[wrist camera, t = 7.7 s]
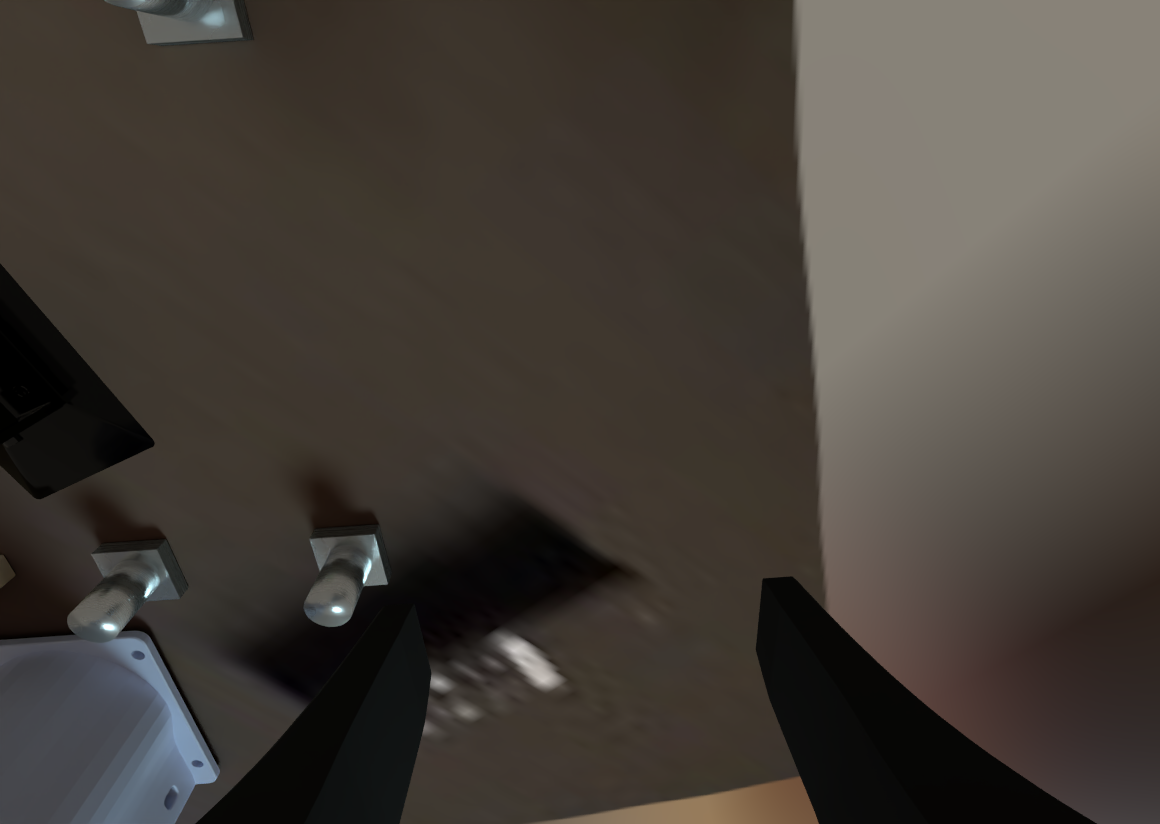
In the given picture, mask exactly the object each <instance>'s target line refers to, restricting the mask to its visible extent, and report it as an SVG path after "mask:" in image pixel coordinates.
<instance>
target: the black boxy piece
mask: <svg viewBox="0 0 1160 824" xmlns="http://www.w3.org/2000/svg"><path fill="white" fill-rule="evenodd" d="M154 444H155V443H154V441H153V439H152V438H151V437H150V436H149V435H148V434H147V432H146V431H145V430H144V429H143V428H142V427H141V425H140V424H139V423H138V422H137V421H136V420H135V419H134V417H133V416H132V415H131V414H130V413H129V412H128V410H127V409H126V408H125V407H124V406H123V405H122V403H121V402H120V401H119V400H118V399H117V398H116V397H115V395H114V394H113V393H112V392H111V391H110V390H109V388H108V387H107V386H106V385H105V384H104V383H103V382H102V380H101V379H100V378H99V377H98V376H97V375H96V373H95V372H94V371H93V370H92V369H91V368H90V367H89V365H88V364H87V363H86V362H85V361H84V360H83V358H82V357H81V356H80V355H79V354H78V353H77V352H76V350H75V349H74V348H73V347H72V346H71V345H70V343H69V342H68V341H67V340H66V339H65V338H64V337H63V335H62V334H61V333H60V332H59V331H58V330H57V328H56V327H55V326H54V325H53V324H52V323H51V322H50V320H49V319H48V318H47V317H46V316H45V315H44V313H43V312H42V311H41V310H40V309H39V308H38V307H37V305H36V304H35V303H34V302H33V301H32V300H31V298H30V297H29V296H28V295H27V294H26V293H25V292H24V290H23V289H22V288H21V287H20V286H19V285H18V283H17V282H16V281H15V280H14V279H13V278H12V276H11V275H10V274H9V273H8V272H7V271H6V270H5V268H4V267H3V266H2V265H1V264H0V466H1V467H2V468H4V469H5V470H6V471H7V472H8V473H9V474H10V475H11V476H12V477H13V478H14V479H15V480H16V481H17V482H18V483H19V484H20V485H21V486H22V487H24V488H25V489H26V490H27V491H28V492H29V493H30V494H31V495H32V496H33V497H34V498H36V499H42V498H44V497H47V496H49V495H51V494H53V493H55V492H57V491H59V490H61V489H64V488H66V487H68V486H70V485H72V484H74V483H76V482H78V481H81V480H83V479H85V478H87V477H89V476H91V475H93V474H95V473H98V472H100V471H102V470H104V469H106V468H108V467H110V466H113V465H115V464H117V463H119V462H121V461H123V460H125V459H127V458H130V457H132V456H134V455H136V454H138V453H140V452H142V451H144V450H147V449H149V448H151V447H153V446H154Z"/></svg>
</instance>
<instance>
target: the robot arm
mask: <svg viewBox="0 0 1160 824" xmlns="http://www.w3.org/2000/svg"><path fill="white" fill-rule="evenodd" d="M756 652H757V656H758V660H759V663H760V667H761V671H762V675H763V678H764V682H765V685H766V689H767V692H768V696H769V699H770V702H771V704H772V707H773V709H774V712H775V714H776V717H777V719H778V722H779V724H780V727H781V730H782V732H783V735H784V737H785V740H786V742H787V744H788V747H789V749H790V752H791V754H792V757H793V759H794V762H795V764H796V767H797V769H798V772H799V774H800V777H801V779H802V782H803V784H804V786H805V789H806V791H807V794H808V796H809V799H810V801H811V804H812V806H813V809H814V811H815V814H816V817H817V819H818V822H819V824H1096V823H1095V822H1093V821H1092V820H1090V819H1088V818H1087V817H1085V816H1083V815H1082V814H1080V813H1078V812H1077V811H1075V810H1073V809H1072V808H1070V807H1068V806H1067V805H1065V804H1064V803H1062V802H1060V801H1059V800H1057V799H1056V798H1054V797H1053V796H1051V795H1050V794H1048V793H1046V792H1045V791H1043V790H1042V789H1040V788H1039V787H1037V786H1036V785H1034V784H1033V783H1031V782H1030V781H1028V780H1027V779H1025V778H1024V777H1023V776H1021V775H1020V774H1018V773H1016V772H1015V771H1013V770H1012V769H1011V768H1009V767H1008V766H1006V765H1005V764H1003V763H1002V762H1001V761H999V760H998V759H996V758H995V757H993V756H992V755H990V754H989V753H988V752H986V751H985V750H983V749H982V748H981V747H979V746H978V745H977V744H975V743H974V742H972V741H971V740H970V739H968V738H967V737H966V736H964V735H963V734H962V733H961V732H959V731H958V730H957V729H955V728H954V727H953V726H952V725H950V724H949V723H948V722H946V721H945V720H944V719H942V718H941V717H940V716H939V715H938V714H936V713H935V712H934V711H933V710H931V709H930V708H929V707H928V706H926V705H925V704H924V703H923V702H922V701H921V700H919V699H918V698H917V697H916V696H915V695H913V694H912V693H911V692H910V691H909V690H908V689H907V688H906V687H904V686H903V685H902V684H901V683H900V682H899V681H898V680H896V679H895V678H894V677H893V676H892V675H891V674H890V673H889V672H887V670H885V669H884V668H883V667H882V666H881V665H880V664H879V663H878V662H877V661H876V660H875V659H874V658H873V657H872V656H871V655H870V654H868V653H867V652H866V651H865V650H864V649H863V648H862V647H861V646H860V645H859V644H858V643H857V642H856V641H855V640H854V639H853V638H852V637H851V636H850V635H849V634H848V633H847V632H846V631H845V630H844V629H843V628H841V626H840V625H839V624H838V623H837V622H836V621H835V620H834V619H833V618H832V617H831V616H830V615H829V614H828V613H827V612H826V611H825V610H824V609H823V608H822V607H821V606H820V604H819V603H818V602H817V601H816V600H815V599H814V598H813V597H812V596H811V595H810V594H809V593H808V592H807V591H806V590H805V589H804V588H803V586H802V585H801V584H800V583H799V582H798V581H797V580H796V579H795V578H793V577H778V578H764V579H763V581H762V591H761V602H760V612H759V622H758V633H757V643H756ZM430 680H431V669H430V665H429V661H428V657H427V653H426V649H425V645H424V641H423V637H422V633H421V629H420V625H419V621H418V617H417V613H416V609H415V605H414V604H402V605H388V606H384V607H383V608H382V609H381V610H380V611H379V613H378V614H377V616H376V617H375V618H374V620H373V621H372V622H371V624H370V625H369V627H368V628H367V629H366V631H365V632H364V633H363V635H362V636H361V638H360V639H359V640H358V642H357V643H356V644H355V646H354V647H353V648H352V650H351V651H350V652H349V654H348V655H347V656H346V658H345V659H344V660H343V662H342V663H341V664H340V666H339V667H338V668H337V670H336V671H335V672H334V673H333V675H332V676H331V677H330V678H329V680H328V681H327V682H326V684H325V685H324V686H323V687H322V689H321V690H320V691H319V693H318V694H317V695H316V696H315V698H314V699H313V700H312V701H311V702H310V704H309V705H308V706H307V707H306V708H305V710H304V711H303V712H302V713H301V714H300V715H299V717H298V718H297V719H296V720H295V721H294V722H293V724H292V725H291V726H290V727H289V728H288V729H287V731H286V732H285V733H284V734H283V735H282V736H281V738H280V739H279V740H278V741H277V742H276V743H275V744H274V745H273V747H272V748H271V749H270V750H269V751H268V752H267V753H266V754H265V755H264V756H263V757H262V759H261V760H260V761H259V762H258V763H257V764H256V765H255V766H254V767H253V768H252V769H251V770H250V771H249V772H248V773H247V774H246V775H245V776H244V777H243V778H242V779H241V780H240V781H239V782H238V783H237V784H236V785H235V786H234V787H233V788H232V789H231V790H230V791H229V792H228V793H227V794H226V795H225V796H224V797H223V798H222V799H221V800H220V801H219V802H218V803H217V804H216V805H215V806H214V807H213V808H212V809H211V810H210V811H209V812H208V813H206V814H205V815H204V816H203V817H202V818H201V819H200V820H199V821H198V822H197V823H196V824H399V823H400V819H401V815H402V811H403V807H404V803H405V799H406V796H407V792H408V788H409V784H410V780H411V776H412V772H413V768H414V764H415V760H416V756H417V752H418V748H419V744H420V740H421V736H422V732H423V728H424V724H425V717H426V710H427V704H428V696H429V688H430ZM219 773H220V770H219V768H218V766H217V764H216V762H215V760H214V758H213V756H212V754H211V752H210V750H209V749H208V747H207V745H206V743H205V741H204V739H203V737H202V735H201V733H200V731H199V729H198V728H197V726H196V724H195V722H194V720H193V718H192V716H191V714H190V712H189V710H188V709H187V707H186V705H185V703H184V701H183V699H182V697H181V695H180V693H179V691H178V689H177V688H176V686H175V684H174V682H173V680H172V678H171V676H170V674H169V672H168V670H167V669H166V667H165V665H164V663H163V661H162V659H161V657H160V655H159V653H158V651H157V649H156V648H155V646H154V644H153V642H152V640H151V638H150V637H149V636H148V635H147V634H146V633H144V632H141V631H122V632H120V633H119V634H118V635H117V636H116V638H115V639H113V640H111V641H109V642H105V643H95V642H90V641H87V640H84V639H82V638H80V637H79V636H77V635H65V636H50V637H36V638H22V639H7V640H0V824H175V822H176V820H177V818H178V816H179V815H180V813H181V811H182V809H183V807H184V805H185V803H186V801H187V800H188V798H189V796H190V794H191V792H192V790H193V788H194V786H195V785H196V784H205V783H212V782H214V781H215V780H216V778H217V777H218V775H219Z"/></svg>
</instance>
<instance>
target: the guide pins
mask: <svg viewBox="0 0 1160 824" xmlns="http://www.w3.org/2000/svg"><path fill="white" fill-rule="evenodd" d="M104 1H106V2H107V3H110V4H112V5H115V6H119V7H123V8H127V9H132V10H136V11H137V14H138V17H139V20H140V23H141V26H142V29H143V32H144V35H145V39H146V42H147V44H153V45H159V46H166V45H182V44H197V43H213V42H228V41H243V40H254V39H253V35H252V32H251V28H250V24H249V20H248V16H247V12H246V8H245V4H244V1H243V0H104ZM310 543H311V546H312V549H313V552H314V555H315V558H316V561H317V564H318V567H319V570H320V573H319V575H318V577H317V579H316V581H315V583H314V585H313V587H312V589H311V590H310V592H309V594H308V596H307V598H306V600H305V602H304V611H305V613H306V615H307V616H308V617H309V618H310V619H311V620H312V621H313V622H315V623H317V624H320V625H323V626H328V627H335V626H340V625H343V624H345V623H346V622H347V621H348V620H349V619H350V618H351V616H352V613H353V611H354V608H355V606H356V603H357V601H358V598H359V596H360V593H361V591H362V588H363V586H370V585H385V584H388V583H389V580H390V577H391V574H392V573H391V569H390V565H389V561H388V557H387V554H386V550H385V546H384V542H383V538H382V534H381V530H380V527H379V524H378V525H363V526H349V527H334V528H320V529H315V530H314V532H313V533H312V535H311V537H310ZM91 555H92V557H93V559H94V560H95V562H96V564H97V566H98V568H99V570H100V572H101V573H102V575H103V577H104V579H103V580H102V581H101V582H100V583H99V584H98V585H97V586H96V587H95V588H94V589H93V590H92V591H91V592H90V593H89V594H88V595H87V596H86V597H85V598H84V599H83V600H82V601H81V602H80V603H79V605H78V606H77V607H76V608H75V609H74V610H73V611H72V612H71V613H70V614H69V615H68V618H67V623H68V626H69V628H70V629H71V631H72V632H73V633H75V634H76V635H77V636H79V637H80V638H82V639H84V640H87V641H90V642H95V643H105V642H109V641H111V640H113V639H115V638H116V636H117V635H118V634H119V633H120V632H121V630H122V629H123V628H124V627H125V626H126V624H127V623H128V622H129V621H130V620H131V618H132V617H133V616H134V615H135V614H136V612H137V611H138V610H139V609H140V608H141V606H142V605H143V604H144V603H145V602H146V601H155V600H169V599H180V598H181V597H182V596H183V594H184V593H185V592H186V590H187V589H188V585H187V583H186V581H185V579H184V577H183V575H182V573H181V570H180V568H179V566H178V564H177V562H176V560H175V557H174V555H173V553H172V551H171V549H170V547H169V544H168V542H167V540H166V539H161V540H146V541H132V542H117V543H103V544H101V545H100V546H99V547H98V548H97V549H96V550H95V551H94V552H93V553H92V554H91Z"/></svg>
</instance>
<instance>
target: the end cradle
mask: <svg viewBox="0 0 1160 824" xmlns="http://www.w3.org/2000/svg"><path fill="white" fill-rule="evenodd" d="M14 576H16V574H15V573H14V571H13V570H12V568H11V566H10V565H9V563H8V562H7V560H6V558H5V557H4V555H0V589H1V588H2V587H3V586H4V585H5V584H6V583H7V582H9V581H10V580H11V579H12V578H13V577H14Z"/></svg>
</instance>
